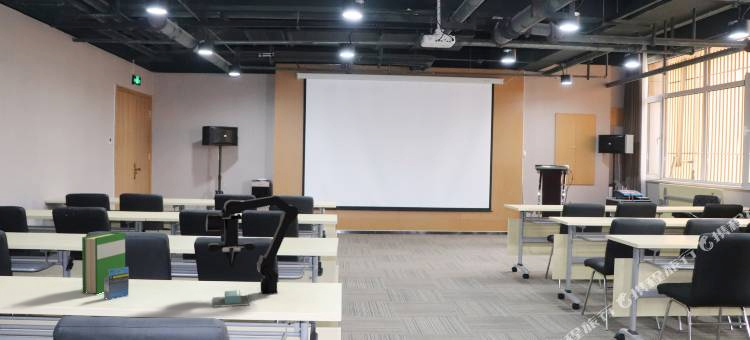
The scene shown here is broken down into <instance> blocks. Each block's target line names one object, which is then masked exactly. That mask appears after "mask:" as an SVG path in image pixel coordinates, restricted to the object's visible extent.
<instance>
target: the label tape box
mask: <svg viewBox="0 0 750 340" xmlns="http://www.w3.org/2000/svg"><path fill="white" fill-rule="evenodd" d="M117 271H122V272H120V273H116V272H117ZM129 272H130V271H129V266H125V267H124V268H118V269H111V270H109V276H108V277H106V278H104V293H103V294H104V295H103V298H104V299H105V298H107V299H106V300H108V299H110V300H113V299H112V298H115V299H118V298H117V297H119V298H123V296H124V297H128V296H129V285H130V284H129V280H130V279H129V278H130V277H129V276H130V275H129V274H130V273H129ZM127 295H128V296H127Z"/></svg>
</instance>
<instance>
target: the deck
mask: <svg viewBox="0 0 750 340" xmlns="http://www.w3.org/2000/svg"><path fill="white" fill-rule="evenodd" d="M241 296H242V295H241V291H240V290H239V289H238V290H224V297H225V304H232V303H241Z"/></svg>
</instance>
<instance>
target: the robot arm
mask: <svg viewBox="0 0 750 340" xmlns="http://www.w3.org/2000/svg"><path fill="white" fill-rule="evenodd" d="M223 205H224V206H223V208H222V210H221V211H220V213H219V214H207V215H206V221H205V230H206V232H219V231H221V230H223V229H224V234H222V233H221V234H220V242H221V243H223V244H219V242H210V243H208V249H207V251H208V252H213V253H214V252H218V250H222V254H225V256H226V258H227V261H228V263H229V267H230V268H233V266H234V265H235V264H234V263H235V261H236V258H237V256H238V255H239V254H240V253H242V251H241V250H242V249H245V250H246V251H255V248H256V246H255V243H254V241H244V243H239V237H240V236H239V228H240V227H239V223H240V222H239V220H244V217H243V216H242V215H241V214H240V213H243V212H244V211H248V210H252V209H258V208H263V207H264V208H265V207H270V206H274V207H275V208H277V209H278V210H279V211H281V213H280V217H279V223H278V225H277V228H276V230H275V232H274V235H273V237H272V239H271V242H270V244H269V246H268V248H267V250H266V252H265V253H264V254H263V255H261V254H260V255H259V258H258V261H257V262H256V270H257V271H258V273H259V274H260V275H261V276H262V277H261V281H260V292H261V294H263V295H267V294H271V295H272V294H278V293H279V292H278V277H279V273H277V272H276V271H275V270H274V268H275V264H276V257H277V255H278V252H279V250H280V248H281V246H282V243H283V241H284V239H285V236H286V234H287V232H288V229H289V228H290V226H291V225H292V224H293V223H294V222H295V220H296V219H297V217H298V216H299V209H298V208H297V206H295V205H292V204H288V203H287V202H286V201H284V200H283V199H282V198H280V197H279V196H277V195H271V196H265V197H258V198H252V199H246V200H243V199H229V200H227V201H225V202H224V204H223ZM231 250H232V257H231Z"/></svg>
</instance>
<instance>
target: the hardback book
mask: <svg viewBox="0 0 750 340" xmlns="http://www.w3.org/2000/svg"><path fill="white" fill-rule="evenodd" d="M81 242H82V244H81V245H82V246H81V247H82V248H81V251H82V252H81V253H82V254H81V255H82V256H81V257H82V260H81V261H82V264H81V265H82V266H81V267H82V294H83V293H86V292H89V293H91V294H93V293H94V294H95V295H96V294H99V293H102V292H104V278H106V277H108V276H109V270H111V269H118V268H124V267H126V232H123V231H107V232H102V233H98V234H93V235H87V236H83V237H81ZM120 272H122V271H117V272H116V273H120ZM86 294H87V293H86ZM102 294H103V293H102ZM99 295H100V294H99Z"/></svg>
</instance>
